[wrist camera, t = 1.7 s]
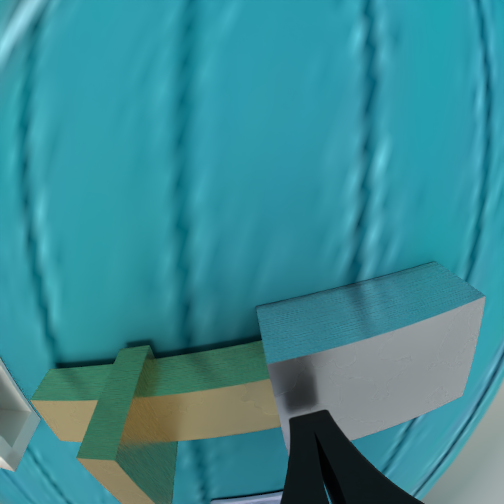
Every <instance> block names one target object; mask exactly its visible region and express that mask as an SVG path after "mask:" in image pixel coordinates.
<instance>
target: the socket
mask: <svg viewBox="0 0 504 504" xmlns="http://www.w3.org/2000/svg"><path fill="white" fill-rule="evenodd" d="M40 420H41V419H40V417H39V416H38V415H37V413H36V412H35V411H34V409H33V408H32V407H31V405H30V404H29V402H28V401H27V399H26V398H25V397H24V395H23V394H22V392H21V391H20V389H19V388H18V386H17V384H16V383H15V381H14V380H13V378H12V377H11V375H10V373H9V372H8V370H7V368H6V367H5V365H4V363H3V362H2V360H1V358H0V467H1V468H4V469H7V470H11V471H16V469H17V467H18V465H19V462H20V460H21V458H22V456H23V454H24V452H25V450H26V448H27V446H28V443H29V441H30V439H31V437H32V435H33V433H34V431H35V429H36V427H37V426H38V424H39V422H40Z"/></svg>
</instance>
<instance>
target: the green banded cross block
mask: <svg viewBox="0 0 504 504" xmlns="http://www.w3.org/2000/svg"><path fill="white" fill-rule="evenodd" d="M30 401H31V402H32V404H33V405H34V407H35V408H36V409H37V411H38V412H39V414H40V415H41V416H42V418H43V419H44V420H45V422H46V423H47V424H48V426H49V427H50V428H51V429H52V431H53V432H54V433H55V434H56V436H57V437H58V438H59V439H60V440H61V441H73V442H82V443H81V446H80V449H79V452H78V454H77V457H76V458H77V459H78V461H79V462H80V463H81V464H82V465H83V466H84V467H85V468H86V469H87V470H88V471H89V472H90V473H91V474H92V475H93V476H94V477H95V478H96V479H97V480H98V481H99V482H100V483H101V484H102V485H103V486H104V487H105V488H106V489H107V490H108V491H109V492H110V493H111V494H112V495H113V496H114V497H115V498H116V499H118V500H119V501H120V502H121V503H122V504H172V498H173V487H174V476H175V466H176V456H177V447H178V441H185V440H196V439H205V438H214V437H222V436H229V435H236V434H243V433H249V432H255V431H260V430H266V429H271V428H276V427H281V423H280V419H279V415H278V411H277V406H276V402H275V398H274V394H273V389H272V385H271V381H270V376H269V372H268V368H267V363H266V358H265V353H264V347H263V342H262V340H261V341H257V342H252V343H247V344H242V345H236V346H231V347H226V348H220V349H215V350H209V351H203V352H197V353H191V354H185V355H179V356H172V357H165V358H158V359H155V357H154V355H153V352H152V350H151V348H150V345H146V346H139V347H132V348H125V349H120V351H119V353H118V355H117V358H116V360H115V362H114V364H108V365H98V366H87V367H75V368H61V369H49V371H48V372H47V374H46V375H45V377H44V378H43V380H42V382H41V383H40V385H39V386H38V388H37V390H36V391H35V393H34V395H33V396H32V398H31V399H30Z"/></svg>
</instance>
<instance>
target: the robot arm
mask: <svg viewBox="0 0 504 504" xmlns="http://www.w3.org/2000/svg"><path fill="white" fill-rule="evenodd" d="M289 426H290V452H289V461H288V469H287V475H286V480H285V485H284V489H283V491H282V492H277V493H271V494H265V495H258V496H251V497H243V498H234V499H224V500H213V501H211V502H210V504H329V501H328V498H327V495H326V491H325V488H324V484H325V487H326V489H327V492H328V495H329V497H330V500H331V502H332V504H424V503H423V502H421V501H419V500H418V499H416V498H414V497H413V496H411V495H409V494H408V493H406V492H405V491H404V490H402V489H401V488H399V487H398V486H397V485H395V484H394V483H393V482H392V481H390V480H389V479H388V478H387V477H385V476H384V475H383V474H382V473H381V472H380V471H378V470H377V469H376V468H375V467H374V466H373V465H372V464H371V463H370V462H369V461H368V460H367V459H366V458H365V457H364V456H363V455H362V454H361V453H360V452H359V451H358V450H357V448H356V447H355V446H354V445H353V444H352V443H351V442H350V440H349V439H348V438H347V437H346V436H345V434H344V433H343V432H342V430H341V429H340V428H339V426H338V425H337V423H336V422H335V420H334V419H333V417H332V416H331V414H330V412H329V410H326V409H324V410H320V411H316V412H312V413H308V414H304V415H300V416H295V417H291V418H290V419H289ZM323 482H324V483H323Z"/></svg>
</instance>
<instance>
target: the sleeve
mask: <svg viewBox="0 0 504 504" xmlns="http://www.w3.org/2000/svg"><path fill="white" fill-rule="evenodd" d="M485 297H486V296H485V295H484V294H482V293H481V292H479V291H478V290H477V289H475V288H474V287H472V286H471V285H469V284H468V283H466V282H465V281H464V280H462V279H461V278H459V277H458V276H456V275H455V274H453V273H452V272H450V271H449V270H447V269H446V268H444V267H443V266H441V265H440V264H438V263H437V262H432V263H429V264H425V265H422V266H418V267H415V268H411V269H407V270H404V271H400V272H397V273H393V274H389V275H385V276H382V277H378V278H374V279H370V280H367V281H363V282H359V283H355V284H351V285H347V286H343V287H339V288H335V289H331V290H327V291H322V292H318V293H314V294H310V295H305V296H301V297H297V298H292V299H288V300H284V301H279V302H274V303H270V304H265V305H261V306H256V310H257V315H258V321H259V326H260V331H261V337H262V342H263V347H264V353H265V358H266V363H267V368H268V372H269V376H270V381H271V385H272V389H273V394H274V398H275V402H276V406H277V411H278V415H279V419H280V423H281V428H282V432H283V436H284V440H285V444H286V449H287V453H288V457H289V452H290V426H289V419H290V418H291V417H295V416H300V415H304V414H308V413H312V412H316V411H320V410H324V409H326V410H329V412H330V414H331V416H332V417H333V419H334V420H335V422H336V423H337V425H338V426H339V428H340V429H341V430H342V432H343V433H344V434H345V436H346V437H347V438H348V439H349V440H350V441H351V440H354V439H358V438H361V437H364V436H367V435H370V434H373V433H376V432H379V431H381V430H384V429H387V428H390V427H392V426H395V425H398V424H400V423H403V422H405V421H408V420H410V419H413V418H415V417H418V416H420V415H422V414H425V413H427V412H429V411H431V410H434V409H436V408H438V407H440V406H442V405H444V404H446V403H449V402H451V401H453V400H455V399H457V398H459V397H461V396H462V395H463V392H464V389H465V385H466V382H467V379H468V375H469V372H470V368H471V364H472V360H473V357H474V353H475V348H476V344H477V340H478V335H479V330H480V326H481V320H482V315H483V309H484V303H485Z"/></svg>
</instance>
